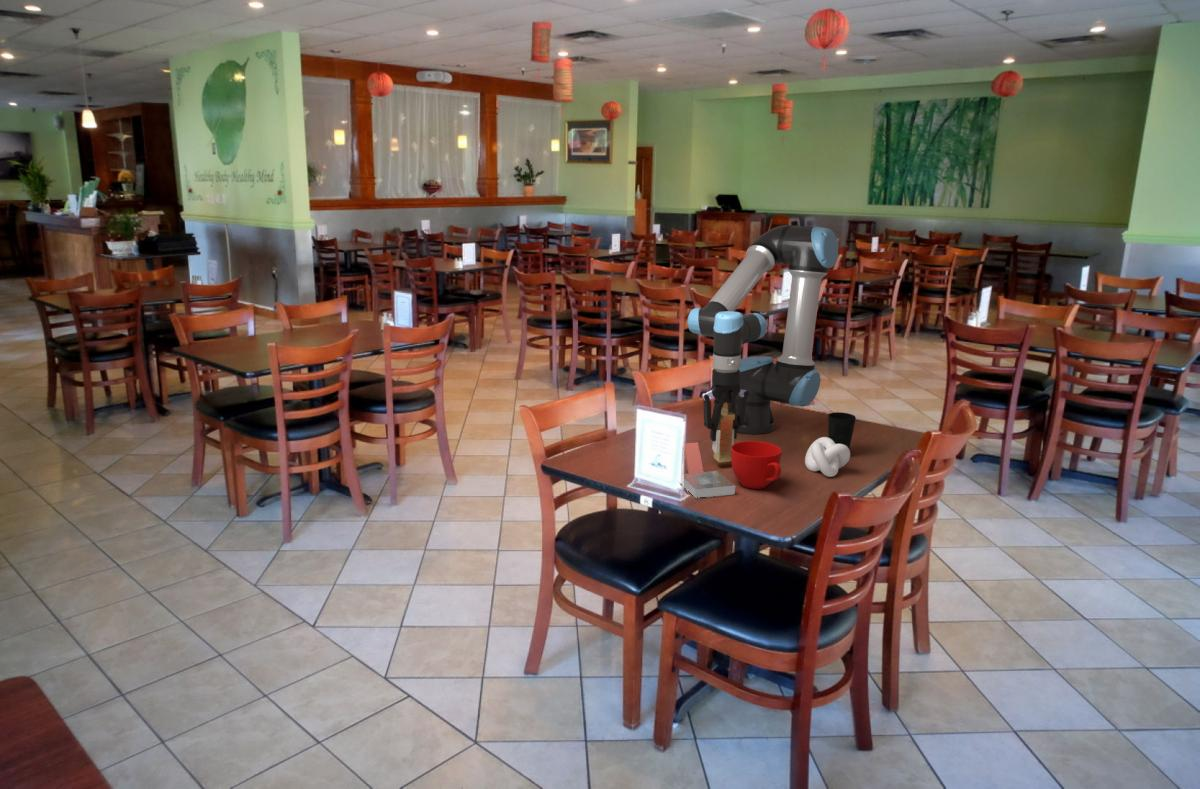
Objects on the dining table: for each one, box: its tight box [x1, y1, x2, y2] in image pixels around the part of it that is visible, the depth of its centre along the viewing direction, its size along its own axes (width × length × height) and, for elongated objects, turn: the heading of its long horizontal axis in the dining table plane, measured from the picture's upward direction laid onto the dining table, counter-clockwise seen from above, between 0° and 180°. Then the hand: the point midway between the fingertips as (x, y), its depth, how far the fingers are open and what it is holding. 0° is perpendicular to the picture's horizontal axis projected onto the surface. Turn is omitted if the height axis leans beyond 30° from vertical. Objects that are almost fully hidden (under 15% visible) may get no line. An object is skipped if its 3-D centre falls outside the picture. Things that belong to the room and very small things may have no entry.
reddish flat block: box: [683, 442, 705, 473], centre depth 218 cm, size 10×5×2 cm
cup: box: [827, 411, 857, 456], centre depth 236 cm, size 8×8×12 cm
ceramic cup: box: [730, 440, 782, 490], centre depth 211 cm, size 13×17×10 cm
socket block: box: [683, 470, 736, 499], centre depth 210 cm, size 11×11×2 cm
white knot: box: [804, 436, 851, 478], centre depth 222 cm, size 11×12×9 cm
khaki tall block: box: [713, 407, 735, 463], centre depth 224 cm, size 6×4×14 cm, turn 16°
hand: (722, 450), depth 225 cm, fingers closed on khaki tall block, 4 cm apart
